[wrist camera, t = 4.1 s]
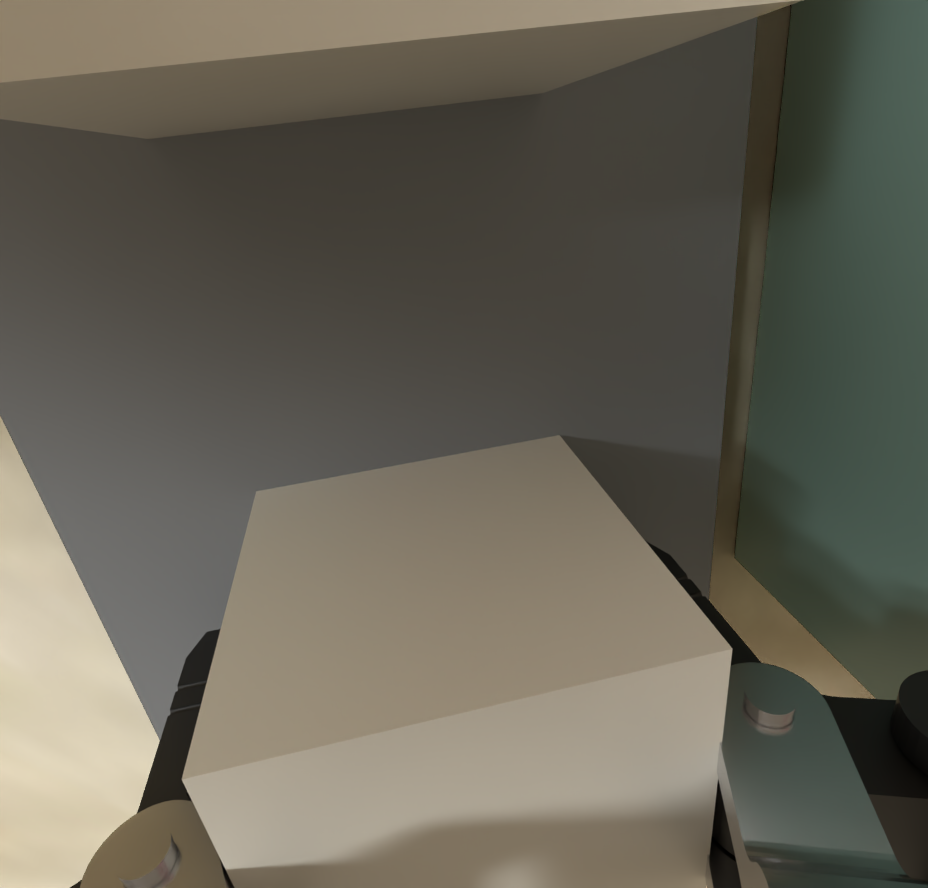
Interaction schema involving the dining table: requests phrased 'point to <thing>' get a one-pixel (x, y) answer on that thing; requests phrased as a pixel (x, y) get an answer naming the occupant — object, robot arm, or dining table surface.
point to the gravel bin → (846, 343)
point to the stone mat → (367, 317)
